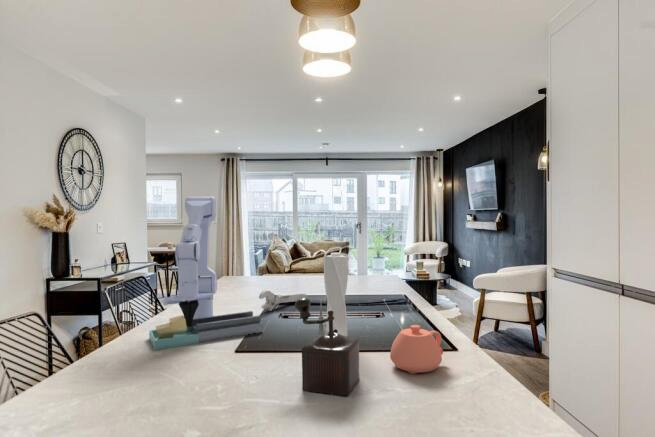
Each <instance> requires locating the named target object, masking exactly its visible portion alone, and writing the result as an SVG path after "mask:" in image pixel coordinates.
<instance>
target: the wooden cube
mask: <svg viewBox="0 0 655 437" xmlns="http://www.w3.org/2000/svg"><path fill="white" fill-rule="evenodd" d="M168 321H169V322H168V323H170V324H171V325H172V330H173V335H174V334H177V333H181V332H185V331H187V326H186V320H185V317H184V315H183V314H182V315H177V316H175V317H170V318H168Z"/></svg>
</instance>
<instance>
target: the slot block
mask: <svg viewBox="0 0 655 437" xmlns="http://www.w3.org/2000/svg"><path fill="white" fill-rule="evenodd" d="M261 319H262V318H261V315H254V311H252V310H249V311H243V312H242V311H241V312H236V313H235V312H234V313H226V314H219V315H213V316H210V317H203V318H195V319H193V321H192V326H190V332H191V333H192V334H199V344H200V343H207V342H211V341H212V342H213V341H218V340H224V339H230V338H235V337H242V336H243V337H244V336H248V334H250V335H254V334H253V333H256V334H261V333H260V332H262V333H264V332H263V330H264V329H263V328H264V327H263V326H264V325H263V322H261Z"/></svg>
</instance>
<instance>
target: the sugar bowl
mask: <svg viewBox="0 0 655 437" xmlns="http://www.w3.org/2000/svg"><path fill="white" fill-rule="evenodd" d="M434 335H436V339H435V337H434ZM441 344H442V334H441V333H440V332H439V331H437V330H430V331H429V330H427V329H423V328H421V325H419V324H412V325H410V328H405V329H401V330H400V332H399V333H398V334H397V335H396V337H395V339H394V341H393V342H392V345H391V348H390V353H389V357H390V360H391V361H392V363H393V364H394V365H395V366H396V367H397V368H398V369H399V370H403V371H406V372H408V374H411V375H416V374H417V373H428V372H433V371H435V370H436V369H437V368H439V367H438V366H440V365H441V363H442V360H443V359H442V358H443V357H442V355H443V354H444V350H443V348H442V347H441Z"/></svg>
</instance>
